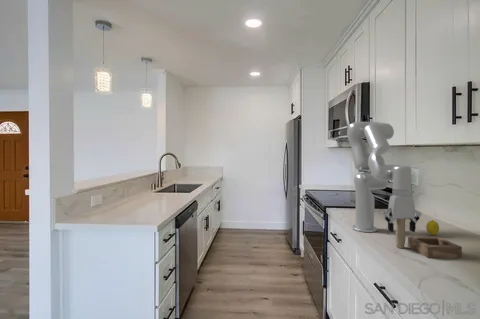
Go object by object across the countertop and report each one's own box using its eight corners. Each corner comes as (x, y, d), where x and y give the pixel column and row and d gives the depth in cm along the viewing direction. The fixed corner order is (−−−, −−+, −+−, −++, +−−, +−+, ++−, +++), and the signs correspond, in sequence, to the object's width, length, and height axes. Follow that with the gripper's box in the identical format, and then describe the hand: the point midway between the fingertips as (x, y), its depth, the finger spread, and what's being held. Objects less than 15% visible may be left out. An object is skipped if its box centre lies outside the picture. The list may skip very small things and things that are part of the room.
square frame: (407, 246, 135) (407, 236, 135) (438, 246, 136) (438, 236, 135) (427, 257, 121) (428, 247, 121) (461, 257, 122) (461, 246, 121)
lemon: (436, 237, 149) (436, 221, 149) (424, 235, 153) (424, 219, 153) (440, 235, 152) (441, 220, 152) (428, 233, 157) (429, 218, 156)
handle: (391, 245, 137) (392, 212, 137) (406, 246, 136) (407, 213, 135) (393, 248, 133) (394, 215, 132) (409, 249, 131) (410, 216, 130)
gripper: (415, 192, 137) (415, 229, 137) (378, 192, 137) (378, 229, 137) (426, 194, 130) (426, 233, 130) (387, 194, 129) (386, 233, 129)
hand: (401, 231), depth 133 cm, fingers open, 9 cm apart
